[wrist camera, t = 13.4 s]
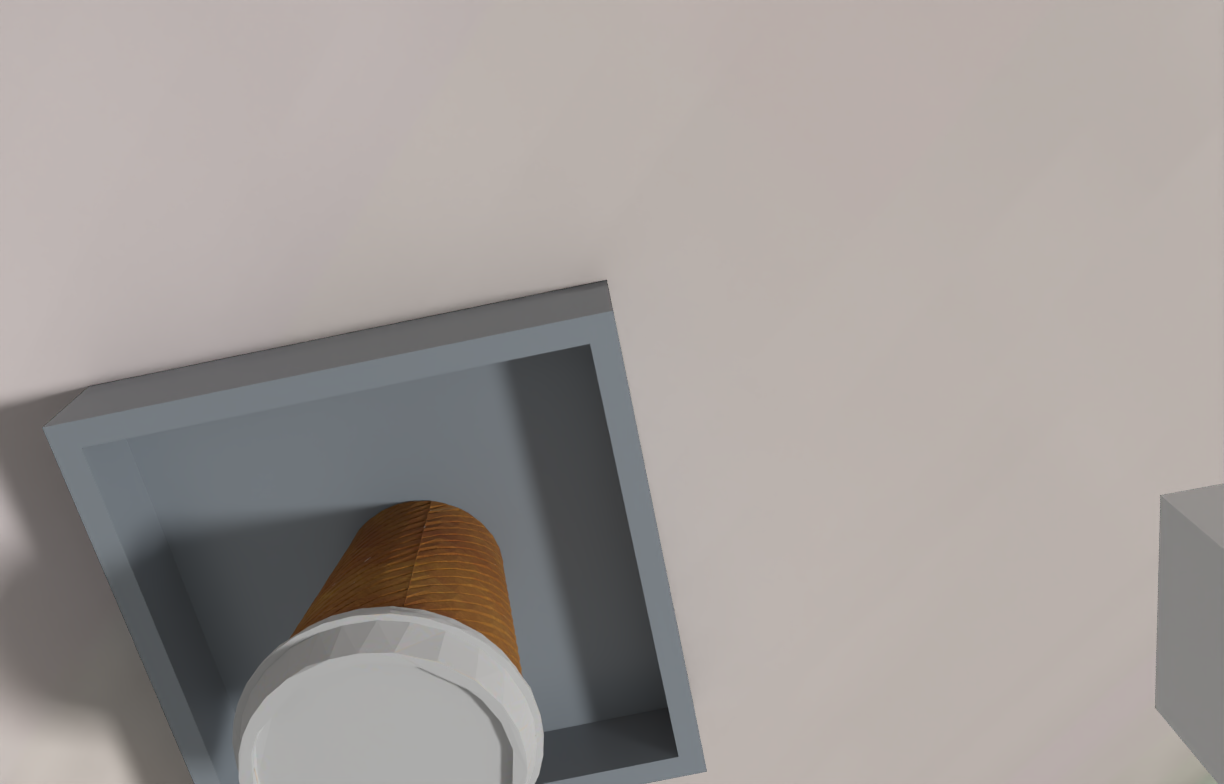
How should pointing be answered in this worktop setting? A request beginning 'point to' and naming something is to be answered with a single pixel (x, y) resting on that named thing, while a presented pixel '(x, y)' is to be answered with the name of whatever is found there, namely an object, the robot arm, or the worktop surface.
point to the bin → (378, 479)
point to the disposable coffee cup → (398, 667)
